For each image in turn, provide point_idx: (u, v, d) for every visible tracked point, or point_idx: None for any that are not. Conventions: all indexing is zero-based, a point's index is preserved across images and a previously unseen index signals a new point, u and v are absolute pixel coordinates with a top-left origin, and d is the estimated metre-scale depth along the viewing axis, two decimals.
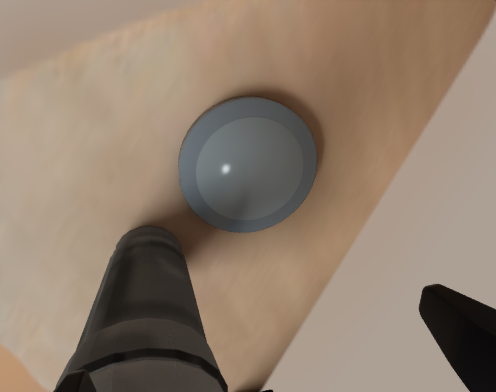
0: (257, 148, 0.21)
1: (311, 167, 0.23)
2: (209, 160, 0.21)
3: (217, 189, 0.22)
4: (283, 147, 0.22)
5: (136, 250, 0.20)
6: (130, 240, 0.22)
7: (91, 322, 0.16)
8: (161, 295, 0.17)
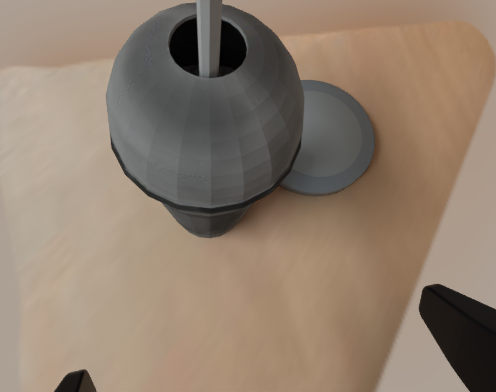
0: (321, 115, 0.26)
1: (369, 140, 0.25)
2: None
3: None
4: (343, 118, 0.26)
5: None
6: None
7: None
8: None
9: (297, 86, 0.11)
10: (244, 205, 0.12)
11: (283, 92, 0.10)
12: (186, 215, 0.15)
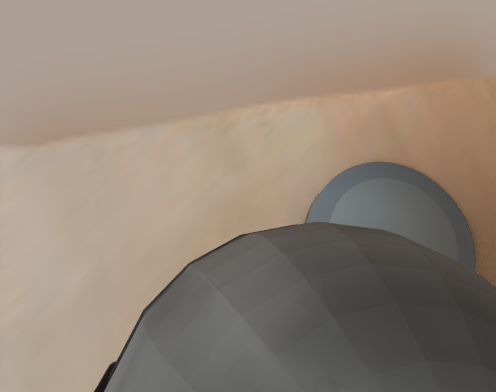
0: (399, 214, 0.19)
1: (468, 250, 0.18)
2: (344, 218, 0.18)
3: None
4: (429, 218, 0.19)
5: None
6: None
7: None
8: None
9: None
10: None
11: None
12: None
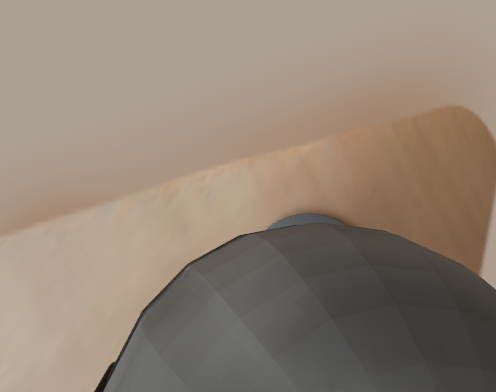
0: None
1: None
2: None
3: None
4: None
5: None
6: None
7: None
8: None
9: None
10: None
11: None
12: None
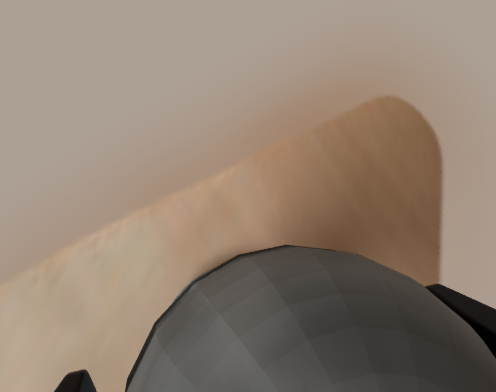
0: None
1: None
2: None
3: None
4: None
5: None
6: None
7: None
8: None
9: None
10: None
11: None
12: None
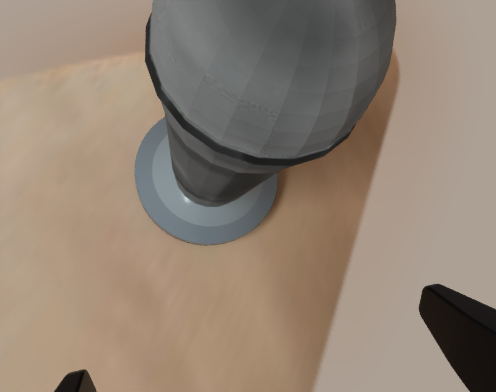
0: None
1: None
2: (166, 156, 0.21)
3: (174, 186, 0.21)
4: None
5: None
6: None
7: None
8: None
9: None
10: (294, 163, 0.10)
11: (385, 29, 0.08)
12: (206, 168, 0.13)
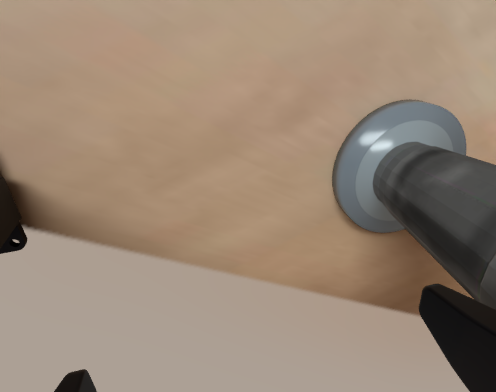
0: None
1: (392, 227, 0.24)
2: (426, 133, 0.22)
3: (398, 142, 0.21)
4: None
5: None
6: None
7: None
8: None
9: None
10: None
11: None
12: (479, 224, 0.14)
